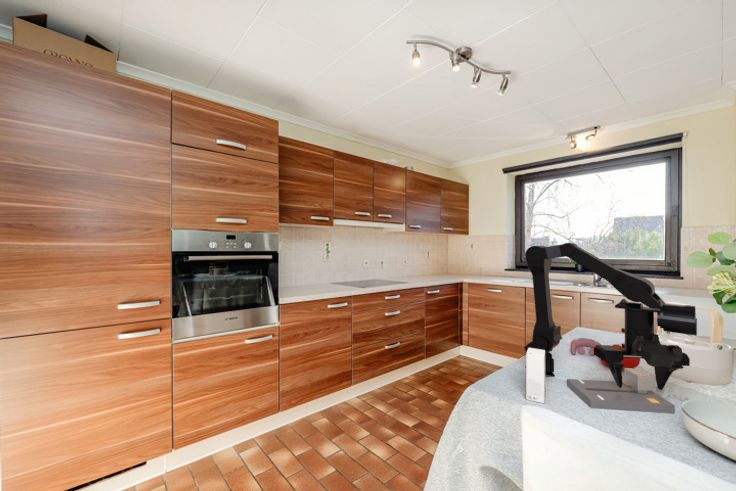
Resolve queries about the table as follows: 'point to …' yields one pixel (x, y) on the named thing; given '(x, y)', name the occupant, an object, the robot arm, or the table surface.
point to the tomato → (626, 359)
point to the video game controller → (583, 345)
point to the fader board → (618, 396)
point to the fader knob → (640, 380)
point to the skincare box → (535, 375)
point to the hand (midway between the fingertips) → (639, 388)
